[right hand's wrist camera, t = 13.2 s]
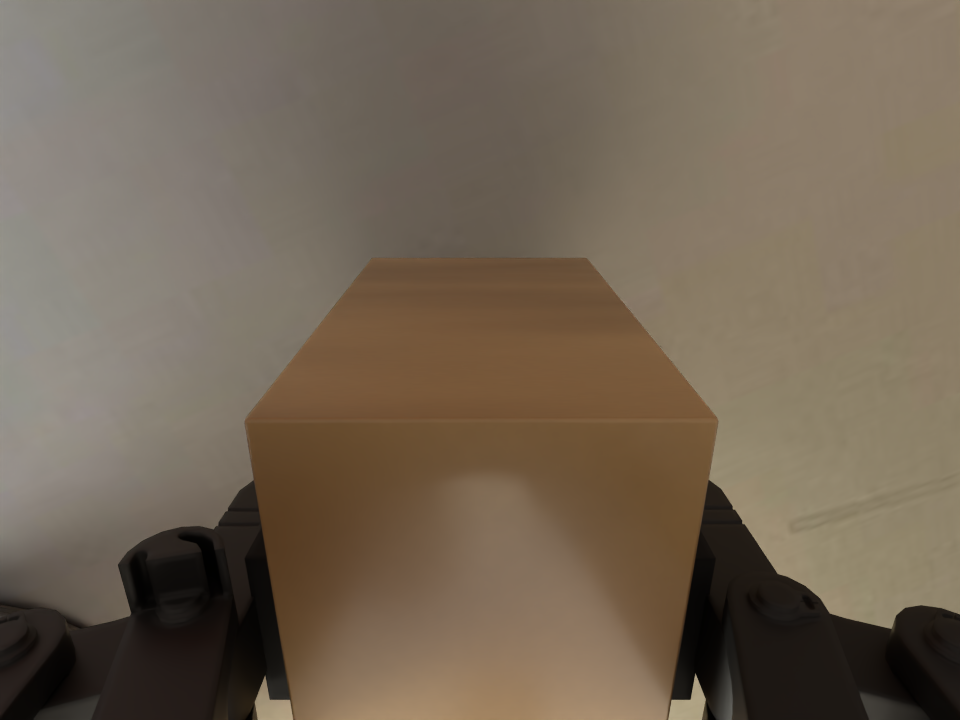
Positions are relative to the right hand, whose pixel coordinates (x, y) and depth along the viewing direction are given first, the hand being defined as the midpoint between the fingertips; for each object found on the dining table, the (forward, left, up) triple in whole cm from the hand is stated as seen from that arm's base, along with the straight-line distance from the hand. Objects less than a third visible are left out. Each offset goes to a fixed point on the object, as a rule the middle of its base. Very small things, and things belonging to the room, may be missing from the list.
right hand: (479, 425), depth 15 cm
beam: (-22, -5, -1) cm, 23 cm away
